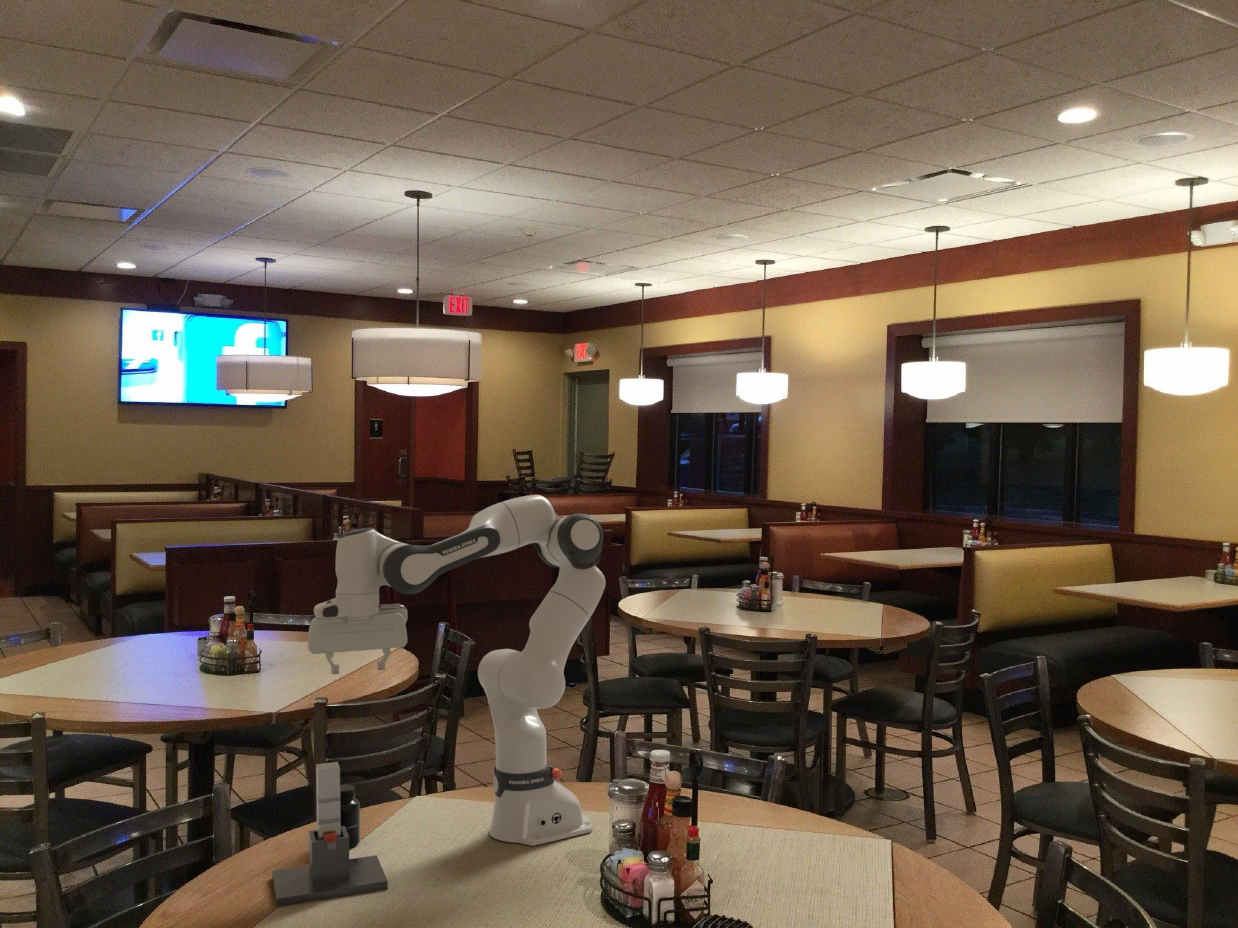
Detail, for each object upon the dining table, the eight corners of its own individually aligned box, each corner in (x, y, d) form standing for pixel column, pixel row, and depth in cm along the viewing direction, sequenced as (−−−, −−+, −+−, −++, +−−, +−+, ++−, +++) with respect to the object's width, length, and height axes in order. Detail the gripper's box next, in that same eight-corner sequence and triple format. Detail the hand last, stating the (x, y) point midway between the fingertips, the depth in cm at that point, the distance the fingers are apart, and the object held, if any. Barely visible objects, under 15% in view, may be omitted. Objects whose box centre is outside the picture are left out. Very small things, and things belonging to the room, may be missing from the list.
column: (338, 843, 199) (337, 761, 199) (341, 850, 195) (340, 767, 195) (316, 846, 197) (315, 764, 197) (318, 854, 193) (317, 769, 193)
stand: (376, 862, 206) (376, 810, 206) (387, 888, 193) (387, 833, 193) (272, 878, 199) (271, 824, 199) (276, 906, 186) (276, 849, 186)
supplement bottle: (351, 851, 212) (350, 793, 212) (320, 849, 214) (320, 792, 214) (365, 839, 219) (365, 783, 219) (336, 837, 221) (335, 781, 221)
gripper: (404, 601, 221) (405, 664, 221) (306, 606, 213) (307, 673, 213) (410, 604, 215) (410, 670, 215) (309, 610, 207) (309, 678, 207)
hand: (358, 671), depth 214 cm, fingers open, 8 cm apart
